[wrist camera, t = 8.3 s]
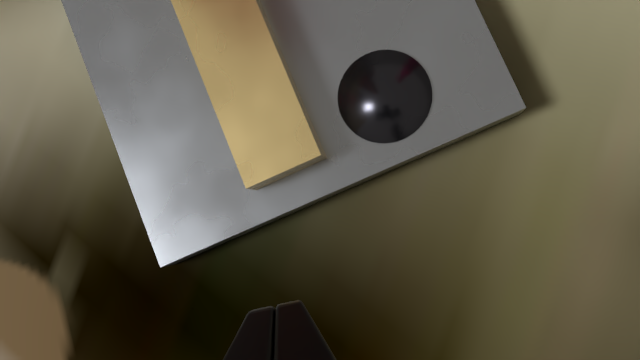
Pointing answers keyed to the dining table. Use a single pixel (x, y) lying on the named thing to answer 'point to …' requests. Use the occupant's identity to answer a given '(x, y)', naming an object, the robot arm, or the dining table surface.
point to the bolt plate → (279, 101)
